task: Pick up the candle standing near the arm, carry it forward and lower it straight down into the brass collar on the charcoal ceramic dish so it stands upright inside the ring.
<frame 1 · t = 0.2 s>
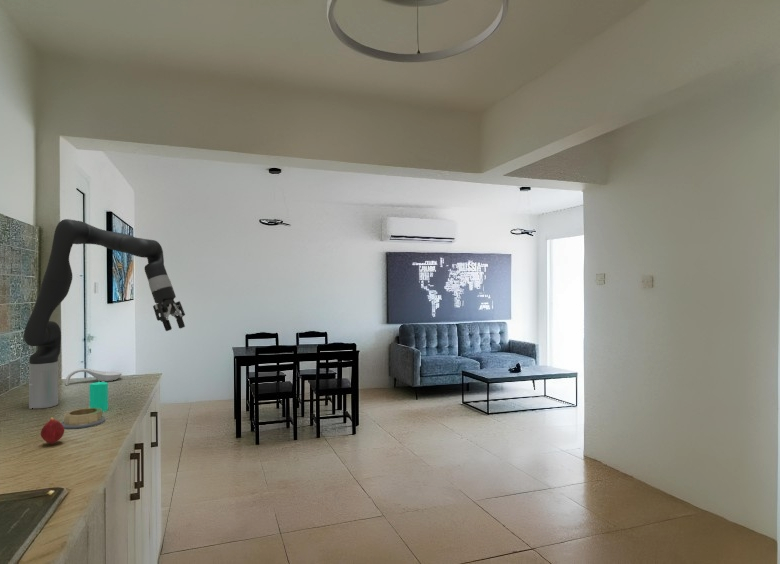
hand: (175, 329, 185), 31 cm above the worktop, tool tilted 20°, fingers open, 8 cm apart
candle: (98, 411, 185), on the worktop
onion: (52, 444, 148), on the worktop
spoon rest: (94, 382, 238), on the worktop
collar: (83, 416, 169), on the dish, point 2 cm above the worktop
dish: (83, 423, 169), on the worktop
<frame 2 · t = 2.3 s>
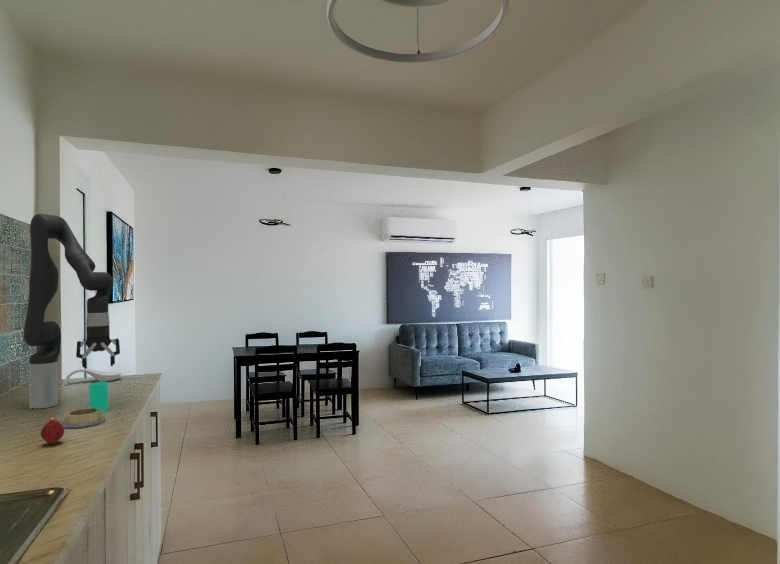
hand: (98, 367, 185), 17 cm above the worktop, tool pointing down, fingers open, 8 cm apart
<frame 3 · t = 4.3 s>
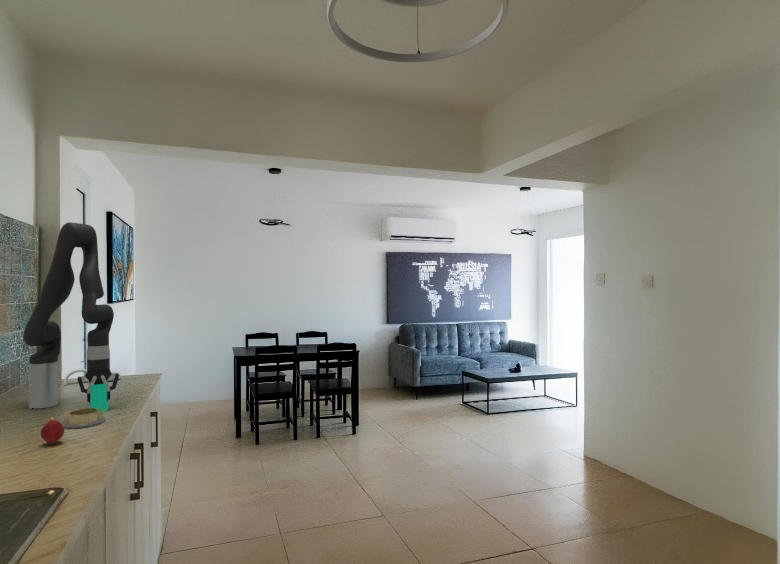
hand: (98, 401, 185), 3 cm above the worktop, tool pointing down, fingers closed on candle, 5 cm apart
candle: (98, 411, 185), on the worktop, touching gripper
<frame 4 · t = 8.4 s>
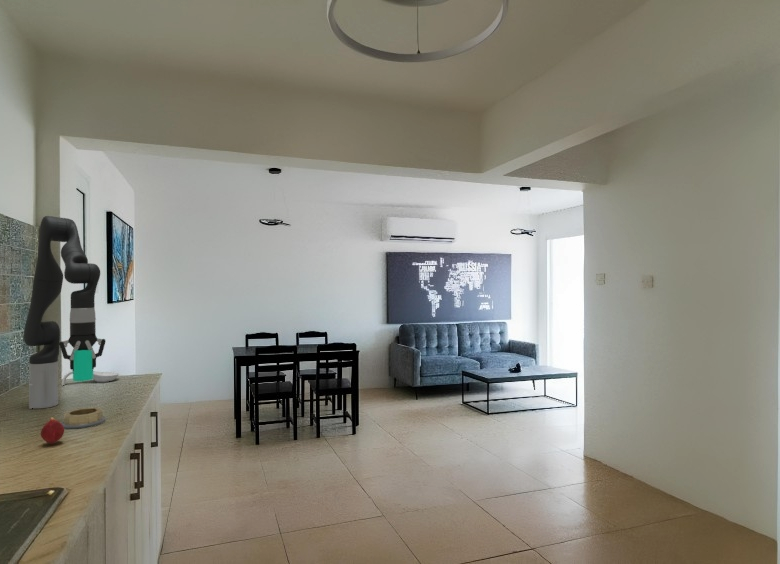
hand: (83, 369, 169), 19 cm above the worktop, tool pointing down, fingers closed on candle, 5 cm apart
candle: (83, 380, 169), point 15 cm above the worktop, touching gripper
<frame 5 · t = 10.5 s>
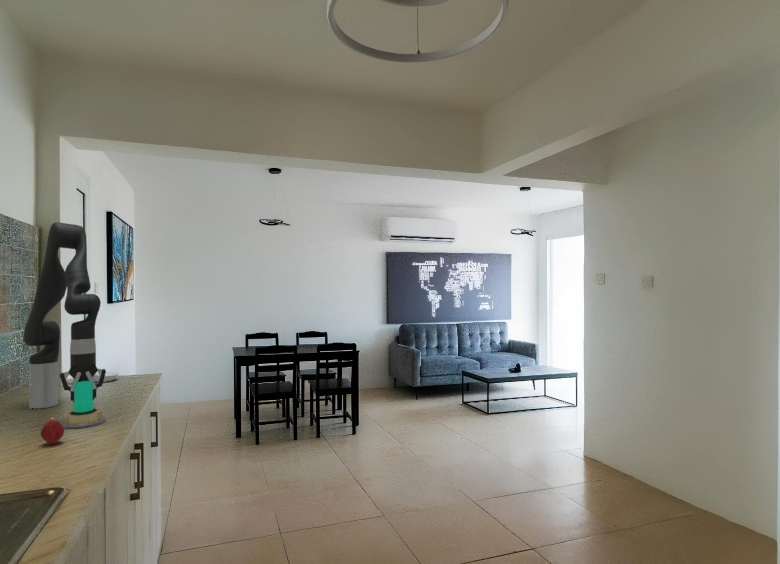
hand: (83, 400, 169), 8 cm above the worktop, tool pointing down, fingers closed on candle, 5 cm apart
candle: (83, 410, 169), point 4 cm above the worktop, touching gripper
when the fingers open (5 cm above the worktop, at t = 12.5 s): candle stays where it is, resting on dish.
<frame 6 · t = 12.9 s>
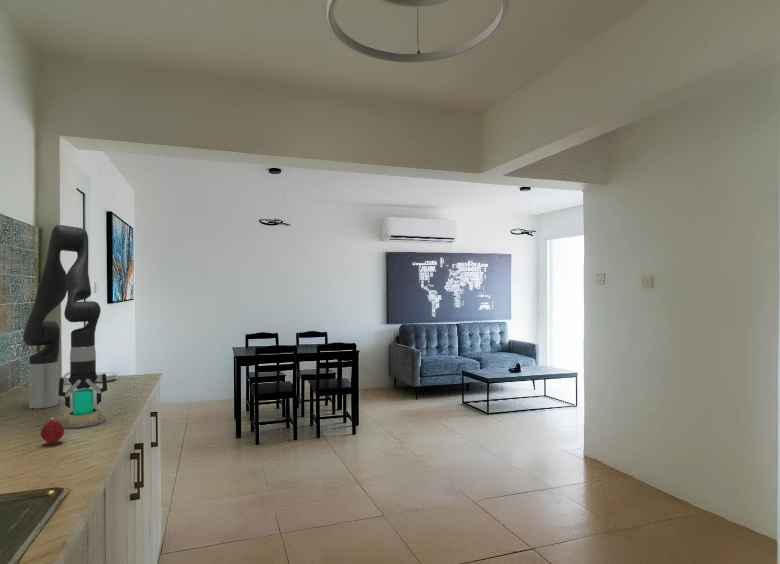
hand: (83, 405, 169), 6 cm above the worktop, tool pointing down, fingers open, 8 cm apart
candle: (83, 420, 169), point 1 cm above the worktop, touching dish
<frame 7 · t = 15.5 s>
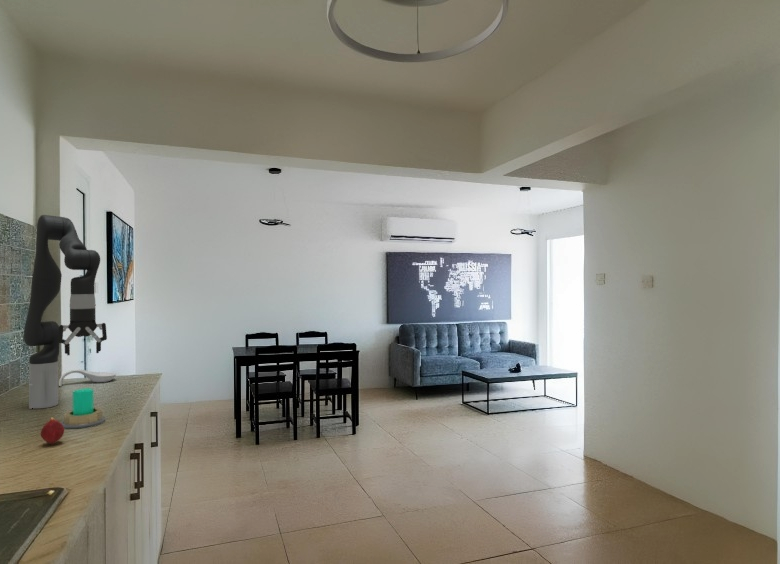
hand: (83, 354, 169), 24 cm above the worktop, tool pointing down, fingers open, 8 cm apart
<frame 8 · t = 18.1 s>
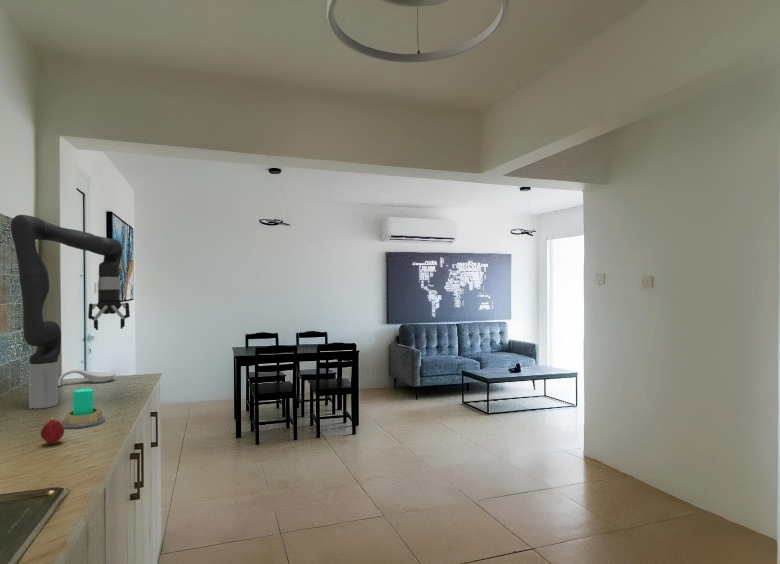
hand: (109, 329, 194), 30 cm above the worktop, tool pointing down, fingers open, 8 cm apart
at the end: candle 0.1 cm from the collar (horizontally); candle point 0.8 cm above the worktop; candle tilted 0° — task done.
